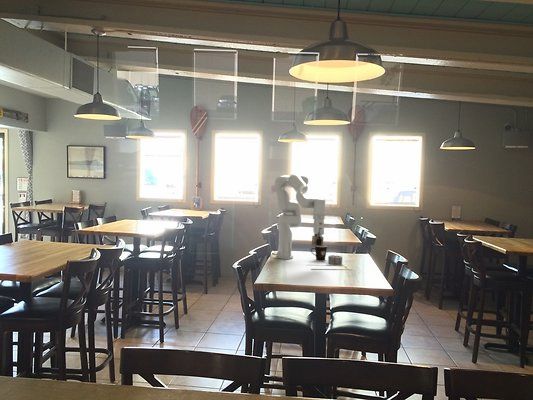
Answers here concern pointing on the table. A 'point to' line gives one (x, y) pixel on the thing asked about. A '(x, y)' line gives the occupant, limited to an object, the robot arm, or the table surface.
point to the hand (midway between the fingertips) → (317, 243)
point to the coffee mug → (320, 252)
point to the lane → (334, 269)
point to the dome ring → (335, 260)
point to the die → (314, 241)
